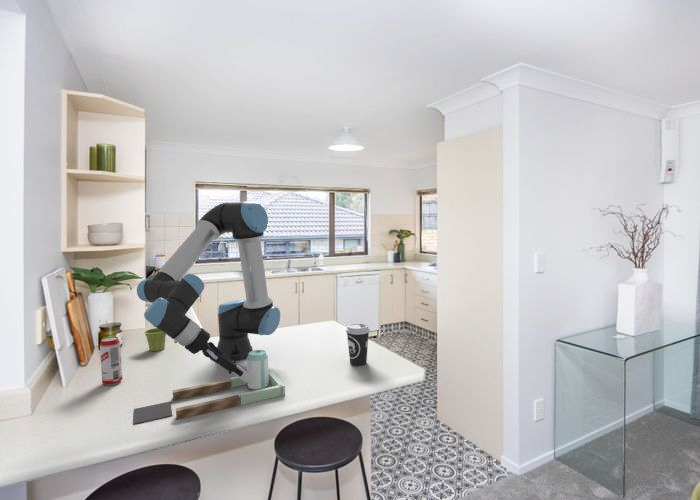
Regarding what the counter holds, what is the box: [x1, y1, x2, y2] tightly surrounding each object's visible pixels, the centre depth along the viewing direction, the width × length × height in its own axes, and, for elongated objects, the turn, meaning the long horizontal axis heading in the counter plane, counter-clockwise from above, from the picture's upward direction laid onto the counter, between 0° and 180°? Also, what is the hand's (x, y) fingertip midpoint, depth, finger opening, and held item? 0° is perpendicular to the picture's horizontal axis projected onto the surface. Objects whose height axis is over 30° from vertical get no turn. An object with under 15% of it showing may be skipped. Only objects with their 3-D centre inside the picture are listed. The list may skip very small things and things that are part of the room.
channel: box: [172, 378, 241, 420], centre depth 124 cm, size 18×16×2 cm
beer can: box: [99, 336, 123, 387], centre depth 140 cm, size 6×6×16 cm
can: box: [246, 349, 270, 391], centre depth 135 cm, size 7×7×12 cm
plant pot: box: [143, 327, 167, 352], centre depth 177 cm, size 9×9×9 cm
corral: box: [229, 369, 286, 406], centre depth 132 cm, size 14×16×3 cm
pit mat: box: [133, 401, 173, 425], centre depth 118 cm, size 10×10×1 cm
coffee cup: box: [345, 322, 371, 367], centre depth 156 cm, size 10×10×15 cm
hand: (248, 378), depth 131 cm, fingers closed
